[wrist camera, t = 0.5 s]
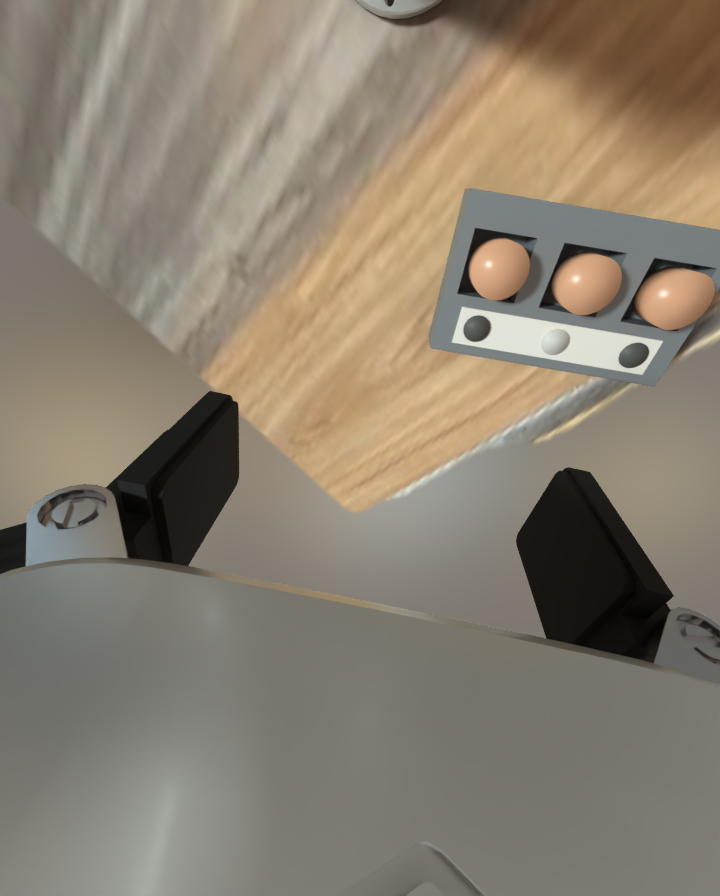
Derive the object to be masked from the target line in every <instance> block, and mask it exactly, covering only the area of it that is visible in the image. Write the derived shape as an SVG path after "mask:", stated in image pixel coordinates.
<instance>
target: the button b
mask: <svg viewBox="0 0 720 896" xmlns="http://www.w3.org/2000/svg"><path fill="white" fill-rule="evenodd" d="M621 281H622V272H621V269H620V266H619V265H618V263H617V262H616V261H614V260H613V259H611V258H609V257H606V256H602V255H599V254H596V253H592V252H579V253H576V254H573V255H571V256H569V257H568V258H566V259H565V260H564V261H563V262H562V263H561V264H560V265H559V266H558V267H557V268H556V270H555V272H554V274H553V276H552V278H551V282H550V291H551V295H552V297H553V299H554V300H555V301H556V302H557V303H558V304H560V305H561V306H563V307H564V308H565V309H567V310H568V311H570V312H571V313H574V314H577V315H588V314H592V313H595V312H597V311H599V310H601V309H603V308H604V307H605V306H607V305H608V304H609V303H610V302H611V301H612V300H613V299H614V297H615V296H616V294H617V293H618V291H619V288H620V285H621Z"/></svg>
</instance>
